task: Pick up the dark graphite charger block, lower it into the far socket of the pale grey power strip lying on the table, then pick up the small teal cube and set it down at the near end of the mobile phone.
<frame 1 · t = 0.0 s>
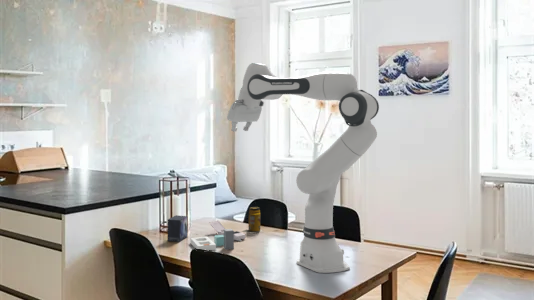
hand: (239, 130, 226), 52 cm above the table, tool tilted 20°, fingers open, 8 cm apart
teal cube: (219, 244, 239), on the table
condiment: (253, 231, 267), on the table
charger block: (228, 248, 232), on the table
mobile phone: (228, 237, 255), on the table
power strip: (202, 246, 236), on the table
small box: (177, 239, 250), on the table
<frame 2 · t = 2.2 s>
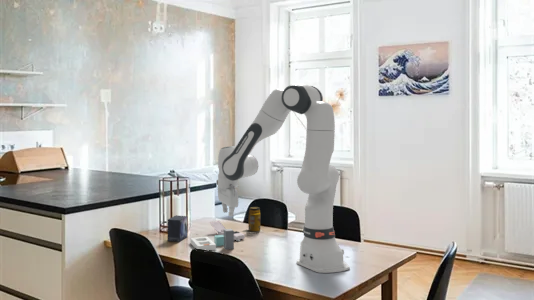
hand: (228, 214, 231), 15 cm above the table, tool pointing down, fingers open, 8 cm apart
nothing on the table moved.
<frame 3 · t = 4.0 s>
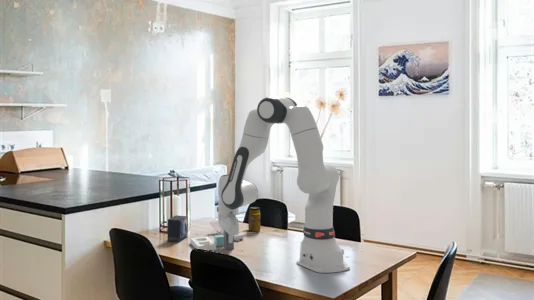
hand: (228, 241, 232), 3 cm above the table, tool pointing down, fingers closed on charger block, 4 cm apart
charger block: (228, 248, 232), on the table, touching gripper
everything else where it was.
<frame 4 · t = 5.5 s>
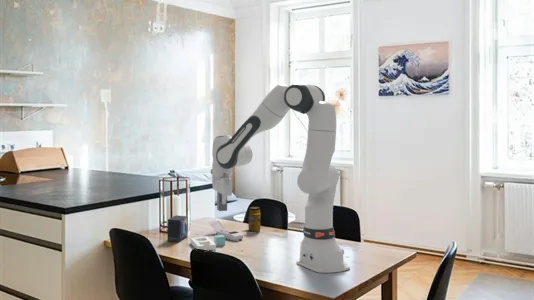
hand: (222, 203, 233), 20 cm above the table, tool pointing down, fingers closed on charger block, 4 cm apart
charger block: (222, 210, 233), point 17 cm above the table, touching gripper
everything else where it was.
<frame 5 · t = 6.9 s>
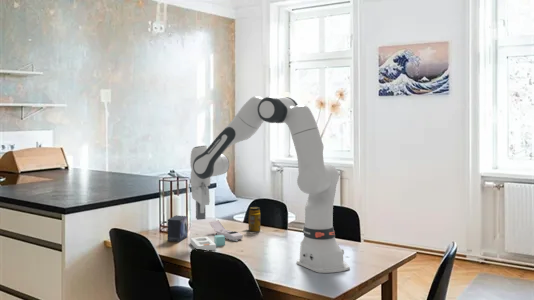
hand: (200, 211, 238), 15 cm above the table, tool pointing down, fingers closed on charger block, 4 cm apart
charger block: (200, 218, 238), point 12 cm above the table, touching gripper
everything else where it was.
when the fingers open (4 cm above the table, at t = 8.7 s): charger block drops 1 cm, resting in power strip.
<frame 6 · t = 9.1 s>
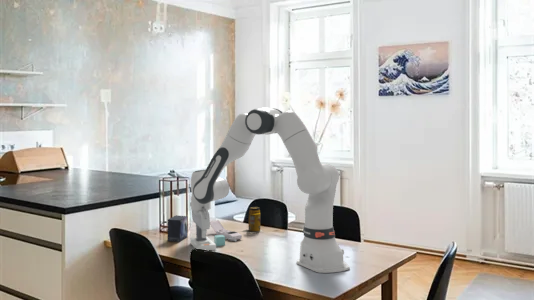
hand: (201, 235, 238), 4 cm above the table, tool pointing down, fingers open, 8 cm apart
charger block: (201, 244, 239), resting in power strip
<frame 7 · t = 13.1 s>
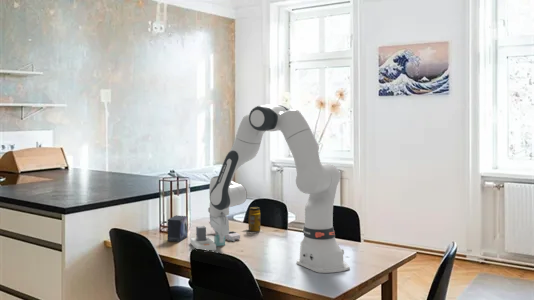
hand: (219, 240, 239), 2 cm above the table, tool pointing down, fingers closed on teal cube, 4 cm apart
teal cube: (219, 244, 239), on the table, touching gripper
when the fingers open (3 cm above the table, at t = 17.7 s): teal cube drops 1 cm, on the table.
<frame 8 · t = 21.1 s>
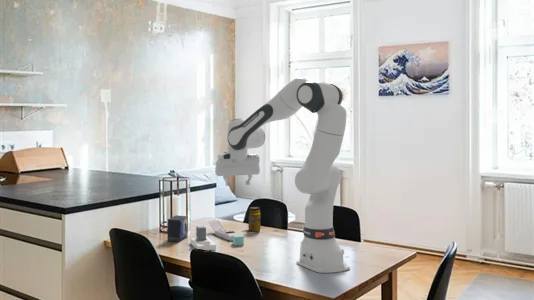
hand: (237, 185, 238), 27 cm above the table, tool pointing down, fingers open, 8 cm apart
teal cube: (238, 244, 240), on the table
at the end: charger block 0.1 cm from the target spot on the power strip, point 0.0 cm above the power strip's base; charger block tilted 0°; teal cube inside the target area (0.0 cm from its centre), on the table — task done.
